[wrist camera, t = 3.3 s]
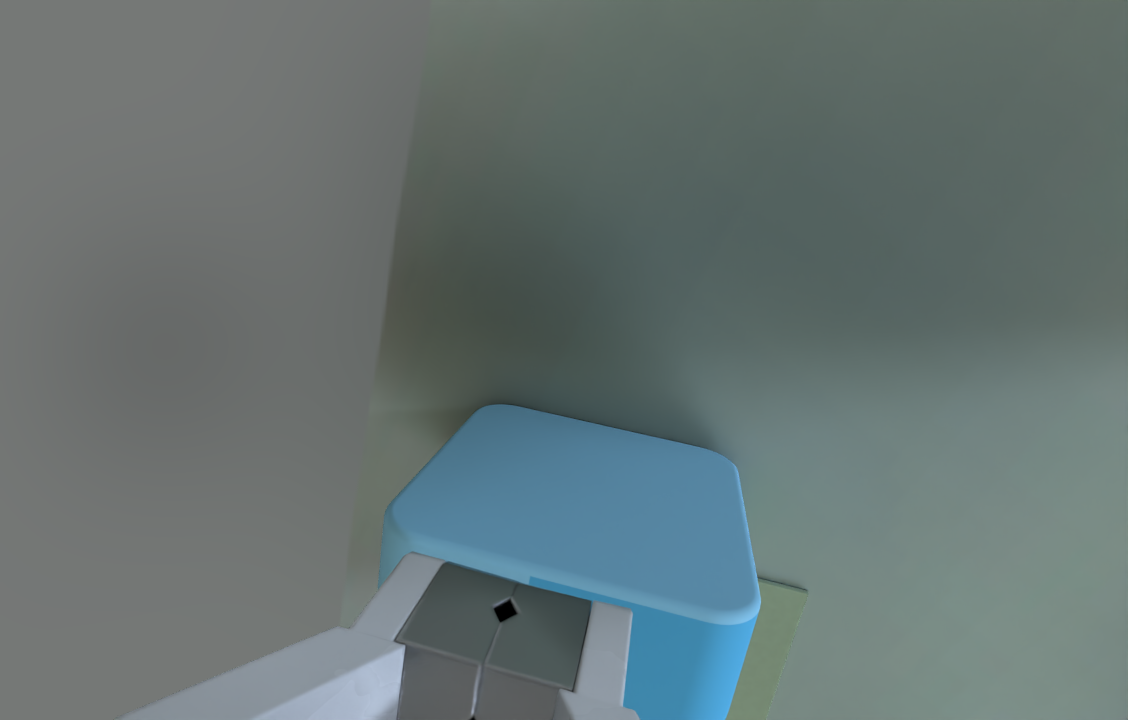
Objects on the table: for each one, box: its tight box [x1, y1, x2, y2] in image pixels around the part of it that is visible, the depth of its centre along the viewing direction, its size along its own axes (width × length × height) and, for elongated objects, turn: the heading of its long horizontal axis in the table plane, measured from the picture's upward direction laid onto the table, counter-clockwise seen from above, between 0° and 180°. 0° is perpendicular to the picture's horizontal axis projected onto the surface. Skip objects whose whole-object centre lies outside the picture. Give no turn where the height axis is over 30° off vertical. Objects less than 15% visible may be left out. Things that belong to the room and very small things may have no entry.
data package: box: [378, 404, 761, 720], centre depth 25 cm, size 12×4×12 cm, turn 81°
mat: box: [725, 578, 808, 720], centre depth 33 cm, size 17×13×1 cm
